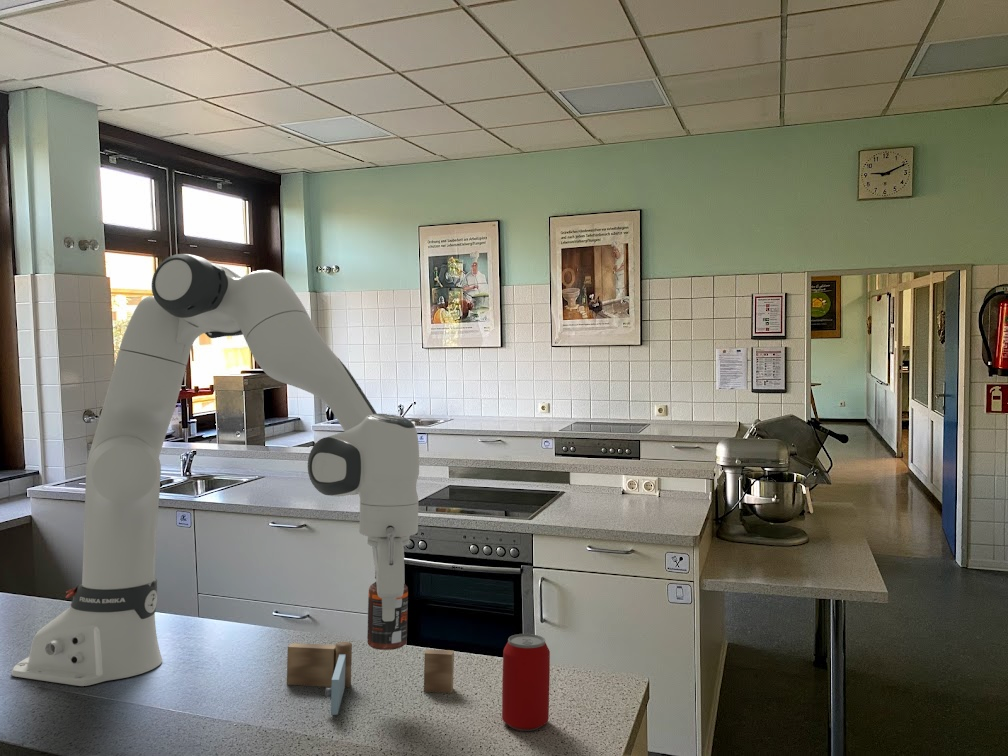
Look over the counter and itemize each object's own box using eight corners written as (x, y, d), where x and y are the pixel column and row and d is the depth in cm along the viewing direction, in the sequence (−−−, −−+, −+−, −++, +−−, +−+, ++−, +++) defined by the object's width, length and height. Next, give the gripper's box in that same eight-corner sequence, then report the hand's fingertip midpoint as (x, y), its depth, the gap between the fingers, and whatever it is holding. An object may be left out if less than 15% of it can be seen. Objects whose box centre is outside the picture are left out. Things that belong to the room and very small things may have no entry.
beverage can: (546, 714, 114) (547, 632, 115) (550, 733, 107) (552, 647, 108) (500, 713, 114) (502, 632, 114) (502, 733, 107) (504, 646, 108)
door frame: (285, 685, 123) (287, 644, 124) (291, 679, 126) (292, 639, 126) (451, 693, 121) (451, 652, 122) (453, 687, 124) (454, 646, 124)
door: (332, 686, 122) (332, 654, 122) (344, 686, 122) (345, 654, 123) (323, 715, 111) (324, 679, 111) (337, 714, 111) (338, 679, 111)
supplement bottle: (408, 650, 114) (410, 574, 114) (367, 652, 113) (369, 575, 113) (405, 638, 120) (406, 565, 120) (366, 639, 119) (368, 566, 119)
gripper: (414, 533, 107) (413, 633, 107) (405, 511, 128) (404, 595, 127) (369, 533, 106) (366, 634, 106) (367, 511, 126) (365, 596, 126)
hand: (387, 613), depth 117 cm, fingers closed on supplement bottle, 6 cm apart
